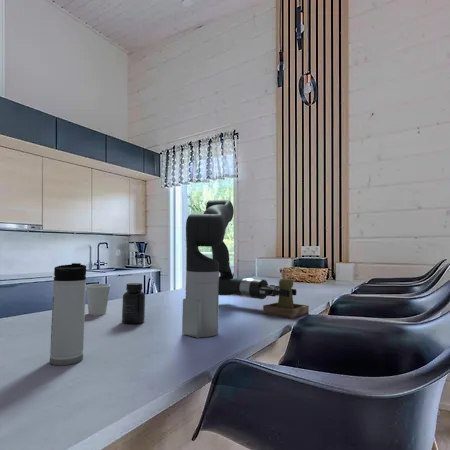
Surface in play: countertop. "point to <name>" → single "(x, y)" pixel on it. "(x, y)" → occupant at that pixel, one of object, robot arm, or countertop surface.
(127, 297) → the supplement bottle
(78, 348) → the travel mug
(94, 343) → the countertop surface
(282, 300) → the cork
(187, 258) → the robot arm
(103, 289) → the dixie cup
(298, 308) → the box
